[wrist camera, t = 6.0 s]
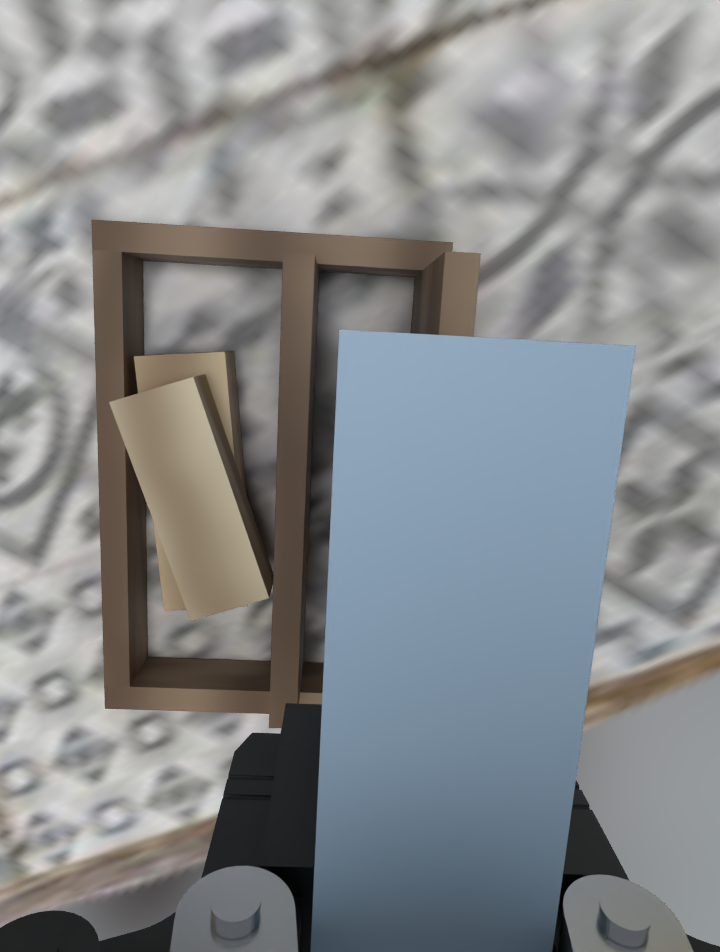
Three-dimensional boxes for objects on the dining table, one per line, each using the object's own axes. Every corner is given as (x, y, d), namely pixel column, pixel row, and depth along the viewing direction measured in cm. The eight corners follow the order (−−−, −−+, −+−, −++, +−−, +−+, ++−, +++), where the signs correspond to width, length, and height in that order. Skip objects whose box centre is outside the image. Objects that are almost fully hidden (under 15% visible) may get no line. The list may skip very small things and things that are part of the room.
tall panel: (418, 342, 21) (635, 346, 5) (391, 727, 24) (482, 1457, 8) (341, 337, 21) (339, 330, 5) (323, 725, 24) (286, 1459, 8)
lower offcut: (235, 350, 32) (224, 351, 29) (255, 583, 34) (247, 606, 31) (152, 354, 31) (133, 356, 28) (179, 587, 34) (164, 611, 31)
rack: (441, 251, 30) (484, 215, 22) (408, 686, 35) (431, 803, 26) (116, 231, 30) (22, 185, 21) (125, 677, 34) (51, 793, 25)
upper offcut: (205, 374, 29) (193, 376, 26) (274, 577, 31) (269, 598, 28) (128, 397, 29) (109, 401, 26) (202, 598, 31) (190, 620, 28)
